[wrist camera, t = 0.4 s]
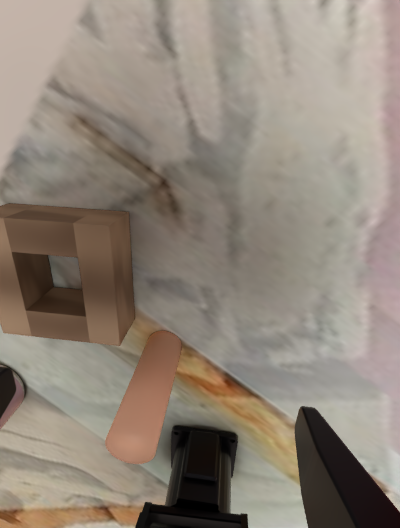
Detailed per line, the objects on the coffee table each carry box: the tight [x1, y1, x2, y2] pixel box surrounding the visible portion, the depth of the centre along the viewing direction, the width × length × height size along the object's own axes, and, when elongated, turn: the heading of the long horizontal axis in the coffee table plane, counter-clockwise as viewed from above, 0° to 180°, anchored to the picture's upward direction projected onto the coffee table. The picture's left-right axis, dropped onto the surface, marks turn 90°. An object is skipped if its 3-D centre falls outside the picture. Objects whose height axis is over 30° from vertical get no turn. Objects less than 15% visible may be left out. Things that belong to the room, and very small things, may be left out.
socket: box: [0, 203, 135, 346], centre depth 21 cm, size 9×9×4 cm
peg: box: [105, 331, 182, 464], centre depth 21 cm, size 3×3×9 cm
